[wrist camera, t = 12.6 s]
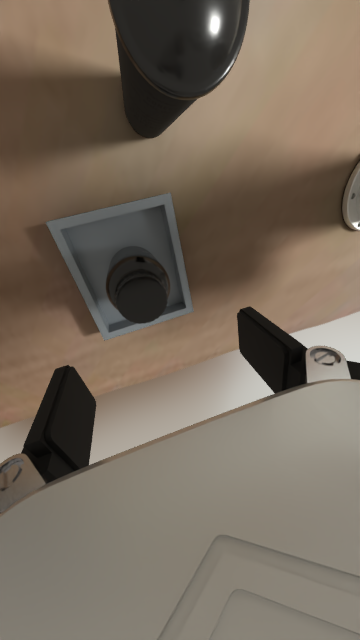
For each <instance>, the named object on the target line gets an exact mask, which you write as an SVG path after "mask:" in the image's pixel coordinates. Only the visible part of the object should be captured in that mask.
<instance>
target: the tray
mask: <svg viewBox="0 0 360 640" xmlns="http://www.w3.org/2000/svg"><path fill="white" fill-rule="evenodd" d="M46 224H47V226H48V228H49V230H50V232H51V234H52V236H53V238H54V240H55V242H56V244H57V246H58V248H59V250H60V252H61V254H62V256H63V258H64V260H65V262H66V264H67V266H68V268H69V270H70V272H71V274H72V276H73V278H74V280H75V282H76V284H77V286H78V288H79V290H80V292H81V294H82V296H83V298H84V300H85V302H86V304H87V306H88V309H89V311H90V313H91V315H92V317H93V319H94V321H95V323H96V325H97V327H98V329H99V331H100V333H101V335H102V337H103V339H104V341H105V340H108V339H111V338H114V337H117V336H120V335H123V334H126V333H129V332H132V331H135V330H139V329H142V328H145V327H148V326H151V325H154V324H157V323H160V322H163V321H166V320H169V319H172V318H175V317H179V316H182V315H185V314H188V313H191V312H194V311H193V306H192V301H191V296H190V290H189V285H188V280H187V275H186V270H185V265H184V259H183V254H182V249H181V244H180V239H179V234H178V229H177V223H176V218H175V213H174V208H173V203H172V198H171V193H167V194H163V195H159V196H154V197H150V198H146V199H141V200H137V201H133V202H129V203H124V204H120V205H116V206H112V207H107V208H103V209H99V210H95V211H90V212H86V213H82V214H78V215H73V216H69V217H65V218H60V219H56V220H52V221H48V222H46ZM129 246H138V247H141V248H144V249H146V250H148V251H149V252H150V253H151V254H152V255H153V256H154V257H155V258H156V259H157V260H158V261H159V263H160V264H161V265H162V266H163V267H164V269H165V270H166V272H167V274H168V276H169V280H170V294H169V297H168V300H167V301H168V303H167V307H166V309H165V311H164V312H163V313H162V315H161V316H159V318H158V319H155V320H154V321H151V322H150V323H145V324H143V323H142V324H139V323H134V322H130V321H129V320H127V319H125V317H123V316H122V315H121V313H119V311H118V310H117V309H116V308H115V307H114V306H113V305H112V304H111V302H110V301H109V299H108V296H107V293H106V278H107V273H108V269H109V265H110V262H111V259H112V258H113V256H114V255H115V254H116V253H117V252H118V251H119V250H121V249H122V248H125V247H129Z"/></svg>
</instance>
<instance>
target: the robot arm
mask: <svg viewBox="0 0 360 640" xmlns="http://www.w3.org/2000/svg"><path fill="white" fill-rule="evenodd" d="M342 210H343V217H344V220H345V222H346V224H347V225H348V226H349V227H350V228H351V229H353V230H359V231H360V162H359V163H358V164H357V166H356V167H355V169H354V171H353V172H352V174H351V176H350V179H349V181H348V183H347V186H346V189H345V192H344V197H343V205H342ZM237 320H238V335H239V349H240V352H241V354H242V355H243V356H244V358H245V359H246V360H247V361H248V362H249V364H250V365H251V366H252V367H253V368H254V369H255V371H256V372H257V373H258V374H259V375H260V376H261V377H262V379H263V380H264V381H265V382H266V383H267V385H268V386H269V387H270V388H271V389H272V390H273V392H274V393H275V394H273V395H270V396H267V397H265V398H262V399H259V400H257V401H254V402H251V403H249V404H246V405H243V406H241V407H238V408H235V409H233V410H230V411H228V412H225V413H222V414H220V415H217V416H214V417H212V418H209V419H207V420H204V421H201V422H199V423H196V424H193V425H191V426H188V427H186V428H183V429H181V430H178V431H175V432H173V433H170V434H168V435H165V436H162V437H160V438H157V439H155V440H152V441H149V442H147V443H145V444H142V445H139V446H137V447H134V448H132V449H129V450H126V451H124V452H121V453H119V454H116V455H114V456H111V457H109V458H106V459H103V460H101V461H99V462H96V463H94V464H91V465H89V459H90V450H91V443H92V435H93V426H94V418H95V411H96V401H95V399H94V397H93V396H92V394H91V393H90V391H89V389H88V388H87V386H86V385H85V383H84V382H83V380H82V379H81V377H80V376H79V374H78V373H77V371H76V370H75V368H74V367H70V366H69V365H66V366H63V367H60V368H57V369H55V371H54V373H53V376H52V378H51V381H50V383H49V385H48V388H47V390H46V393H45V395H44V397H43V400H42V402H41V405H40V407H39V410H38V412H37V414H36V417H35V419H34V422H33V424H32V426H31V429H30V431H29V434H28V436H27V439H26V441H25V443H24V448H23V450H22V453H21V454H16V455H13V456H12V457H9V458H8V459H6V460H5V461H3V462H2V463H1V464H0V640H360V363H357V362H351V361H346V359H345V357H344V355H343V354H342V353H341V352H339V351H338V350H336V349H334V348H331V347H327V346H314V347H311V348H309V349H307V348H306V347H305V346H303V345H302V344H301V343H300V342H298V341H297V340H296V339H294V338H293V337H291V336H290V335H289V334H287V333H286V332H285V331H283V330H282V329H280V328H279V327H278V326H276V325H275V324H274V323H272V322H271V321H269V320H268V319H267V318H265V317H264V316H263V315H261V314H260V313H259V312H257V311H256V310H254V309H253V308H252V307H246V308H243V309H240V311H239V313H237Z"/></svg>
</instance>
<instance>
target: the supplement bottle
mask: <svg viewBox="0 0 360 640" xmlns="http://www.w3.org/2000/svg"><path fill="white" fill-rule="evenodd" d="M106 293H107V296H108V299H109V301H110V302H111V304H112V305H113V306H114V307H115V308H116V309H117V310H118V311H119V313H121V315H122V316H123V317H125V319H127V320H129V321H130V322H134V323H139V324H142V323H143V324H145V323H150V322H151V321H154V320H155V319H158V318H159V316H161V315H162V313H163V312H164V311H165V309H166V307H167V303H168V301H167V300H168V297H169V294H170V280H169V276H168V274H167V272H166V270H165V269H164V267H163V266H162V265H161V264H160V263H159V261H158V260H157V259H156V258H155V257H154V256H153V255H152V254H151V253H150V252H149V251H148V250H146V249H144V248H141V247H138V246H129V247H125V248H122V249H121V250H119V251H118V252H117V253H116V254H115V255H114V256H113V258H112V259H111V262H110V265H109V269H108V273H107V278H106Z"/></svg>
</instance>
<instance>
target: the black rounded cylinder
mask: <svg viewBox="0 0 360 640" xmlns="http://www.w3.org/2000/svg"><path fill="white" fill-rule="evenodd" d="M249 1H250V0H108V4H109V8H110V12H111V16H112V19H113V22H114V25H115V30H116V38H117V47H118V55H119V64H120V72H121V81H122V89H123V98H124V107H125V112H126V116H127V118H128V121H129V123H130V124H131V126H132V127H133V129H134V130H135V131H136V132H137V133H139V134H140V135H142V136H144V137H147V138H154V137H157V136H159V135H160V134H161V133H162V132H163V131H164V130H165V129H167V128H168V127H169V126H170V125H171V124H172V123H173V122H174V121H175V120H176V119H177V118H178V117H179V116H180V115H181V114H182V113H183V112H184V111H185V110H186V109H187V108H188V107H189V106H190V105H191V104H193V103H194V102H195V101H196V100H197V99H198V98H201V97H203V96H205V95H207V94H209V93H210V92H212V91H213V90H214V89H215V88H216V87H217V86H218V85H219V84H220V83H221V82H222V81H223V80H224V79H225V77H226V76H227V75H228V73H229V72H230V70H231V68H232V67H233V65H234V63H235V61H236V59H237V56H238V54H239V51H240V49H241V46H242V42H243V39H244V35H245V31H246V26H247V20H248V13H249Z"/></svg>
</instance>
